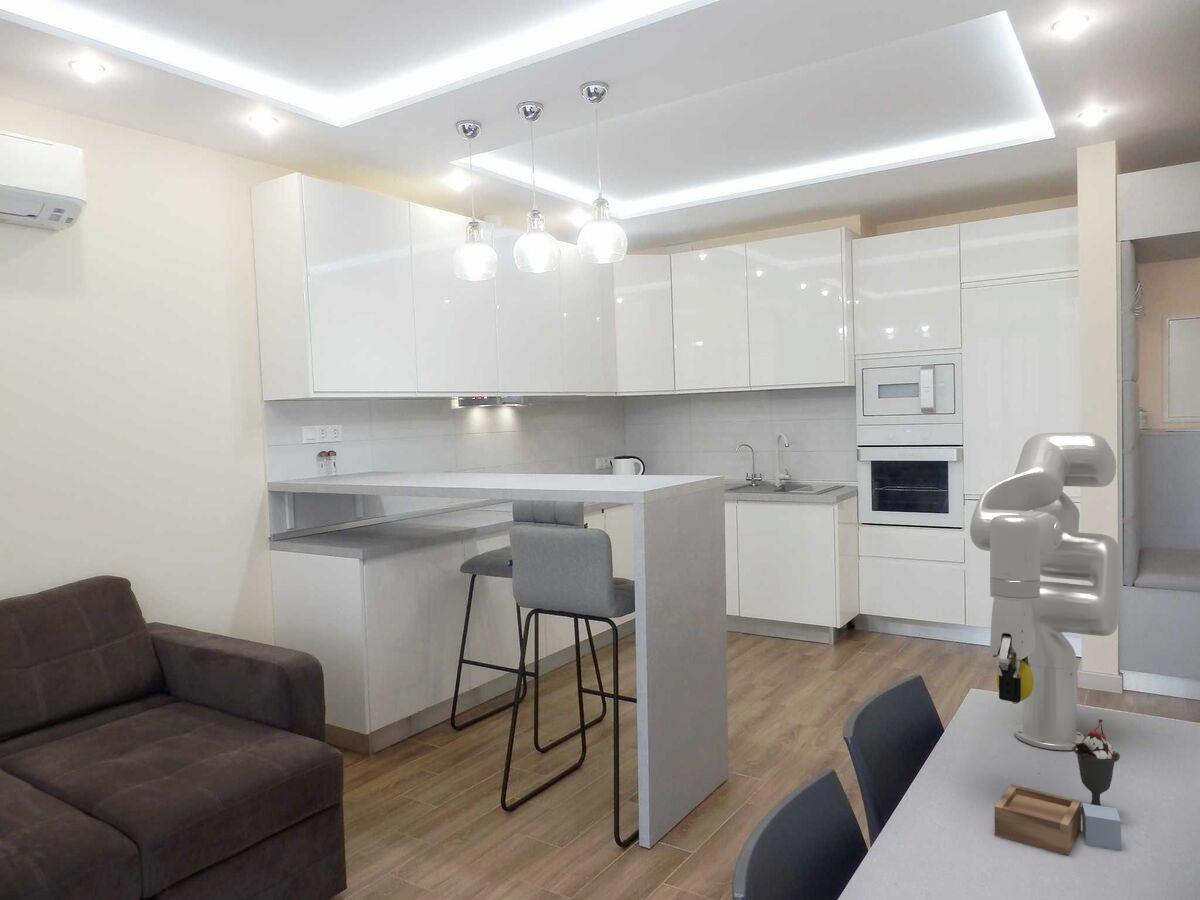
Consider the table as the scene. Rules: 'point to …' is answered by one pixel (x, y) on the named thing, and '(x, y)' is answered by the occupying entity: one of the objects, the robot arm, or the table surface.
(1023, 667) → the lemon
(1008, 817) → the wooden open box
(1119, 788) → the table surface
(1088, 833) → the slate cube
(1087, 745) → the sundae
